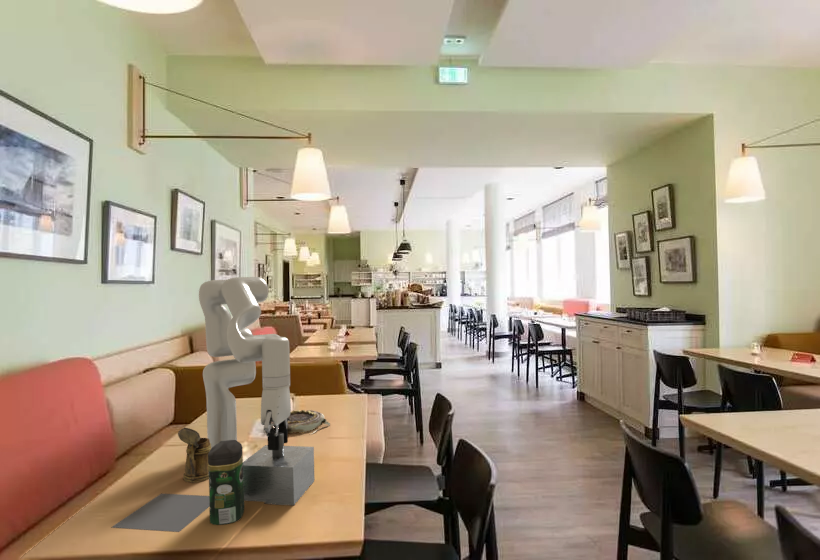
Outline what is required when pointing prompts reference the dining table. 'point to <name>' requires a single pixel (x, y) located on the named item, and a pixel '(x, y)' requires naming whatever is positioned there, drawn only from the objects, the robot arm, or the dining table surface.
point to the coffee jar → (226, 482)
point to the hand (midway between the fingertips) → (278, 445)
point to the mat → (166, 513)
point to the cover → (278, 474)
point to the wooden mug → (195, 455)
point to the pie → (304, 421)
